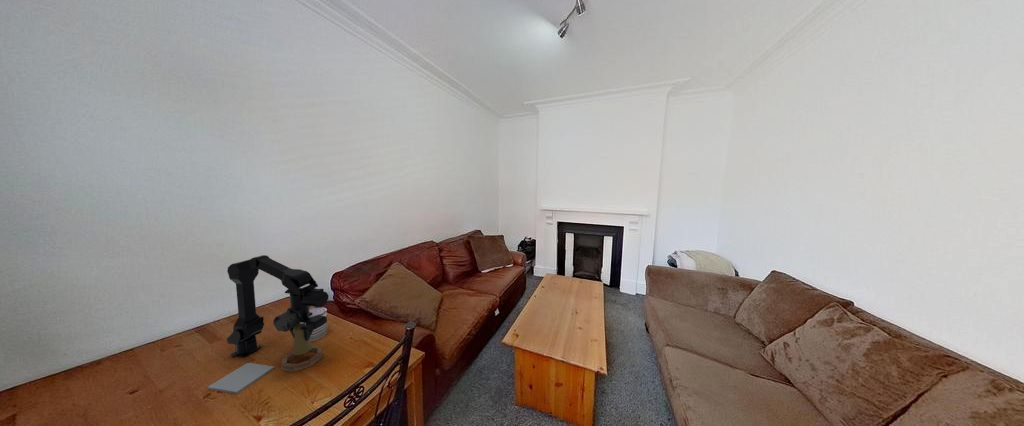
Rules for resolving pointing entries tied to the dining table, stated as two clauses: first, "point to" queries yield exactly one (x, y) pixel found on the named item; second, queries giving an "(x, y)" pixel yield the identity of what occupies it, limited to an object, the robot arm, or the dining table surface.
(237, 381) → the slate mat
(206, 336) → the dining table surface
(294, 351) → the cork
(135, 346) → the dining table surface
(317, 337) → the can
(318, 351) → the walnut holder
